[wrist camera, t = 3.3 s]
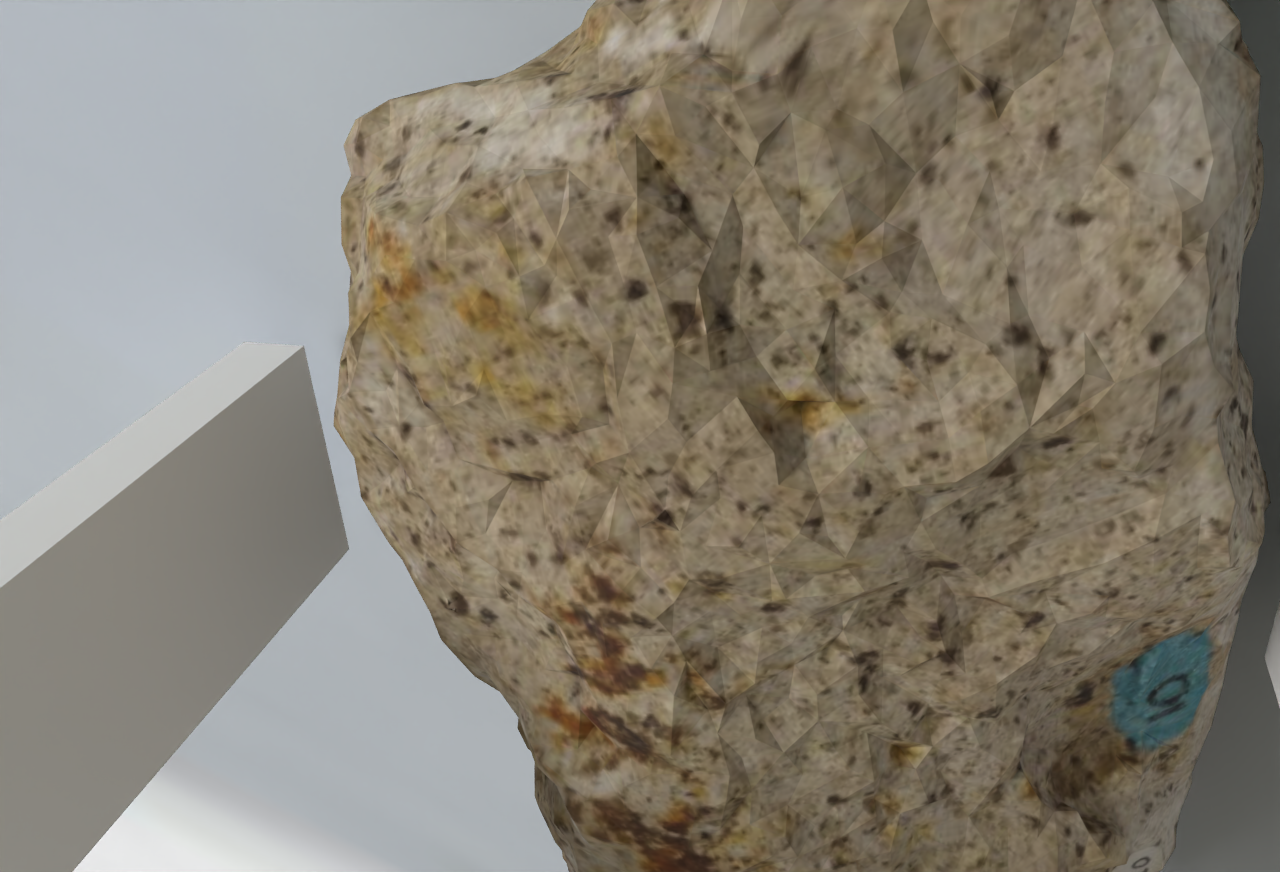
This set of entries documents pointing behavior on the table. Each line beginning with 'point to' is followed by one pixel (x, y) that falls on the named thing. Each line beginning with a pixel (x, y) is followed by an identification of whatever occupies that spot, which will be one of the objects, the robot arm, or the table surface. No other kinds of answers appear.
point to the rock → (826, 419)
